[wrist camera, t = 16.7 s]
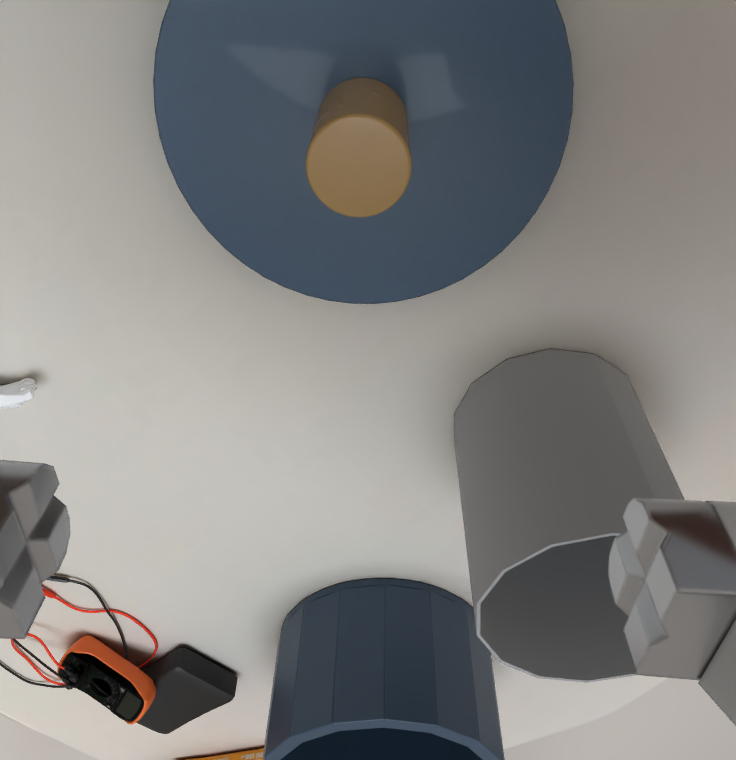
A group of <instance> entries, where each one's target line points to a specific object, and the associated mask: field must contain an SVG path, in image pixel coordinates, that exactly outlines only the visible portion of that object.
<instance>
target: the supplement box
mask: <svg viewBox="0 0 736 760" xmlns="http://www.w3.org/2000/svg"><path fill="white" fill-rule="evenodd" d="M263 752H264V748H260V749H256V750H248V751H242V752H236V753H229V754H223V755H216V756H211V757H205V758H195V759H187V760H263Z"/></svg>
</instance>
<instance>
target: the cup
mask: <svg viewBox="0 0 736 760" xmlns="http://www.w3.org/2000/svg"><path fill="white" fill-rule="evenodd" d="M454 439H455V453H456V461H457V470H458V478H459V487H460V496H461V504H462V513H463V522H464V530H465V539H466V548H467V556H468V565H469V573H470V582H471V591H472V599H473V608H474V617H475V625H476V634H477V637H478V638H479V639H480V640H481V641H482V642H483V644H484V645H485V646H486V647H487V648H488V649H489V651H490V652H491V653H492V654H493V655H494V656H495V658H496V659H497V660H498V661H499V662H501V663H503V664H506V665H508V666H511V667H513V668H515V669H518V670H520V671H522V672H525V673H527V674H530V675H532V676H534V677H537V678H544V679H555V680H565V681H576V682H593V681H600V680H607V679H614V678H621V677H627V676H634V675H636V673H635V670H634V666H633V663H632V660H631V657H630V653H629V650H628V647H627V644H626V640H625V637H624V634H623V630H624V627H625V625H626V622H627V620H628V618H629V617H628V616H627V615H626V614H625V613H624V612H623V611H622V610H621V609H620V608H619V607H618V606H617V605H616V604H615V603H614V600H613V596H612V593H611V589H610V583H609V575H608V567H609V554H610V551H611V548H612V545H613V542H614V539H615V538H616V537H617V536H618V535H620V534H621V533H623V532H624V531H626V530H627V527H626V525H625V522H624V519H623V515H624V512H625V510H626V507H627V505H628V503H629V502H630V501H631V500H632V499H633V498H654V499H675V500H685V499H684V497H683V495H682V493H681V490H680V488H679V486H678V484H677V482H676V480H675V478H674V475H673V473H672V471H671V469H670V467H669V465H668V463H667V460H666V458H665V456H664V454H663V452H662V450H661V447H660V445H659V443H658V441H657V439H656V437H655V435H654V432H653V430H652V428H651V426H650V424H649V422H648V420H647V417H646V415H645V413H644V411H643V409H642V407H641V404H640V402H639V400H638V398H637V396H636V394H635V392H634V390H633V387H632V385H631V383H630V381H629V379H628V377H627V375H626V374H625V373H623V372H622V371H620V370H619V369H617V368H616V367H614V366H612V365H611V364H609V363H608V362H606V361H605V360H603V359H601V358H600V357H598V356H597V355H595V354H589V353H581V352H574V351H566V350H558V349H548V350H544V351H539V352H535V353H531V354H527V355H523V356H519V357H515V358H511V359H507V360H505V361H504V362H502V363H501V364H499V365H498V366H497V367H495V368H494V369H492V370H491V371H489V372H488V373H486V374H485V375H484V376H482V377H481V378H479V379H478V380H476V381H475V382H473V383H472V384H471V386H470V388H469V389H468V391H467V393H466V395H465V396H464V398H463V400H462V401H461V403H460V405H459V407H458V408H457V410H456V412H455V413H454Z"/></svg>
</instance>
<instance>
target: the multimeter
mask: <svg viewBox="0 0 736 760" xmlns="http://www.w3.org/2000/svg"><path fill="white" fill-rule="evenodd" d="M46 580H51V581H58V582H64V583H66V582H73V583H77V584H81V585H84V586H86V587H88V588H89V589H90V590H92V591H93V592H94V593H95V595H96V596H97V597H98V599H99V600H100V602H101V603H102V605H103V607H104V609H105V610H97V611H89V610H82V609H78V608H76V607H73V606H72V605H70V604H68V603H66V602H65V601H63V600H62V599H60V598H58V597H56V595H55V594H54V593H52V592H50V591H48V590H46V589H44V588H42V589H43V592H44V595H45V596H48V597H50V598H55V599H57V600H59V601H60V602H62V603H64V604H65V605H67V606H68V607H70V608H72V609H74V610H77V611H81V612H86V613H99V612H107V613H108V615H109V616H110V617H111V619H112V620H113V621H114V623H115V625H116V627H117V629H118V631H119V633H120V636H121V639H122V642H123V646H124V653H125V659H124V658H123V657H121V656H120V655H119V654H117V653H116V652H114V651H113V650H111V649H110V648H109V647H107V646H106V645H104V644H103V643H102V642H100V641H99V640H97V639H96V638H94V637H92V636H90V635H87V636H84V637H82V638H81V639H79V640H77V641H76V642H75V643H74V644H73V645H72V646H71V647H70V648H69V649H68V650H67V651H66V653H65V654H64V655H63V657H62V659H61V660H60V662H59V663H58V662H57V661H56V660H55V659H54V657H53V656H52V654H51V653H50V651H49V650H48V648H47V647H46V645H45V644H44V642H43V641H42V640H41V639H40V638H38V637H37V636H35V635H33V634H30V633H27V635H28V636H31V637H34V638H36V639H37V640H38V641H39V642H40V643H41V644H42V645H43V646H44V648H45V649H46V651H47V653H48V654H49V656H50V657H51V659H52V660H53V661H54V663H55V664H56V665H57V666H58V673H57V672H55V671H54V670H52V669H51V668H50V667H48V666H47V665H46V664H45V663H43V662H42V661H41V660H40V659H38V658H37V657H36V656H35V655H33V654H32V653H31V652H30V651H29V650H27V649H26V648H25V647H23V646H22V645H21V644H20V643H19V642H18V641H17V640H16V639H11V644H12V646H13V648H14V649H15V650H16V651H17V652H18V653H19V654H20V655H21V656H22V657H24V658H25V659H26V660H27V661H28V662H29V663H30V664H31V666H32V667H33V668H34V669H35V670H36V671H37V672H38V673H39V674H40V675H41V676H42V677H43V678H44V679H46V680H47V681H49V682H51V683H54V684H57V685H62V686H55V685H46V684H40V683H34V682H31V681H28V680H26V679H24V678H22V677H21V676H19V675H17V674H16V673H14V672H13V671H11V670H10V669H8V668H7V667H6V666H4V665H3V664H2V663H0V665H1V666H2V667H3V668H5V669H6V670H7V671H9V672H10V673H12V674H13V675H15V676H16V677H18V678H20V679H21V680H23V681H25V682H27V683H30V684H34V685H39V686H46V687H52V688H66V689H68V690H69V689H72V688H77V689H79V690H81V691H83V692H85V693H86V694H88V695H89V696H91V697H92V698H94V699H95V700H97V701H98V702H99V703H101V704H102V705H104V706H105V707H107V708H108V709H109V710H111V712H112V713H114V714H115V715H117V716H118V717H119V718H121V719H123V720H124V721H126V722H127V723H128V724H134V723H139V724H141V725H143V726H145V727H147V728H149V729H151V730H153V731H156V732H158V733H162V734H168V733H170V732H172V731H174V730H175V729H177V728H179V727H180V726H182V725H184V724H186V723H187V722H189V721H191V720H193V719H195V718H197V717H199V716H201V715H203V714H205V713H207V712H209V711H211V710H213V709H215V708H217V707H219V706H222V705H224V704H226V703H228V702H230V701H231V700H232V699H233V698H234V696H235V691H236V685H237V677H236V676H235V675H234V674H232V673H231V672H229V671H227V670H225V669H223V668H221V667H220V666H218V665H216V664H214V663H212V662H211V661H209V660H207V659H205V658H203V657H201V656H200V655H198V654H196V653H194V652H192V651H190V650H188V649H184V648H179V649H176V650H175V651H173V652H172V653H170V654H169V655H167V656H166V657H164V658H163V659H161V660H160V661H158V662H156V663H155V664H153V665H152V666H150V667H148V668H146V669H145V670H143V671H141V670H140V669H139V668H141V667H142V666H144V665H145V664H147V663H148V662H149V661H150V660H151V659H152V658H153V657H154V656H155V654H156V652H157V647H158V646H157V642H156V640H155V638H154V636H153V635H152V634H151V633H150V632H149V631H148V630H147V629H146V628H145V627H144V626H143V625H142V624H141V623H140V622H138V621H137V620H136V619H134V618H133V617H131V616H129V615H127V614H125V613H122V612H119V611H115V610H108V609H107V607H106V606H105V604H104V602H103V601H102V599H101V597H100V596H99V595H98V593H97V592H96V591H95V590H94V589H93V588H92V587H90V586H89V585H87V584H85V583H82V582H79V581H75V580H70V579H69V578H66V577H59V576H50V577H49V578H48V579H46ZM110 612H114V613H118V614H121V615H124V616H126V617H128V618H130V619H131V620H133V621H134V622H136V623H137V624H138V625H140V626H141V627H142V628H143V629H144V630H145V631H146V632H147V633H148V634H149V635H150V636H151V638H152V639H153V641H154V643H155V651H154V653H153V655H152V656H151V657H150V658H149V659H148V660H147V661H146V662H145V663H143V664H142V665H140V666H138V667H136V666H135V665H133V664H132V663H130V662H129V661H127V651H126V645H125V641H124V638H123V635H122V632H121V630H120V628H119V626H118V624H117V622H116V620H115V619H114V617H113V616H112V615H111V614H110ZM13 641H14V642H15V643H16V644H18V645H19V646H20V647H21V648H22V649H24V650H25V651H26V652H27V653H29V654H30V655H31V656H32V657H34V658H35V659H36V660H37V661H38V662H40V663H41V664H42V665H43V666H45V667H46V668H47V669H49V670H50V671H51V672H53V673H54V674H55V675H57V676H58V677H59V678H60V679H62V681H63V682H64V683H65V684H64V683H58V682H55V681H52V680H50V679H48V678H47V677H45V676H44V675H43V674H42V673H41V672H40V671H39V670H38V669H37V668H36V667H35V665H34V664H33V663H32V662H31V661H30V660H29V659H28V658H27V657H26V656H25V655H24V654H22V653H21V652H20V651H19V650H18V649H17V648H16V646H15V645H14V642H13Z"/></svg>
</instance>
